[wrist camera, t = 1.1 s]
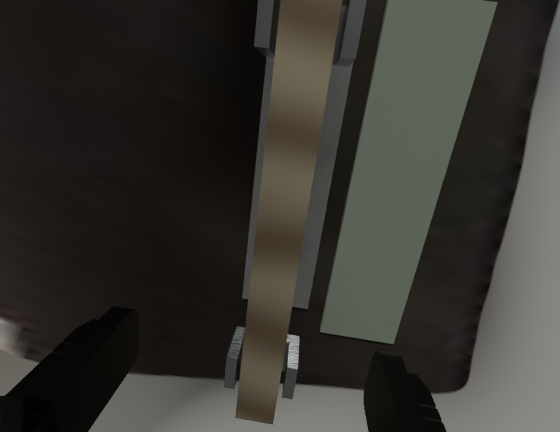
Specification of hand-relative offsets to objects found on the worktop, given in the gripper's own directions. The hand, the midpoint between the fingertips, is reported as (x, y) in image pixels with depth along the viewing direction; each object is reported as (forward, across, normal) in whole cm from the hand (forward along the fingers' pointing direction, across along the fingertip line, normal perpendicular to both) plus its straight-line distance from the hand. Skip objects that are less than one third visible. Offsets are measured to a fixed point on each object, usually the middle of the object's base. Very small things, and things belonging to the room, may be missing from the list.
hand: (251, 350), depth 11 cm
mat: (+25, -10, 0) cm, 27 cm away
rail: (+13, 0, 0) cm, 13 cm away
